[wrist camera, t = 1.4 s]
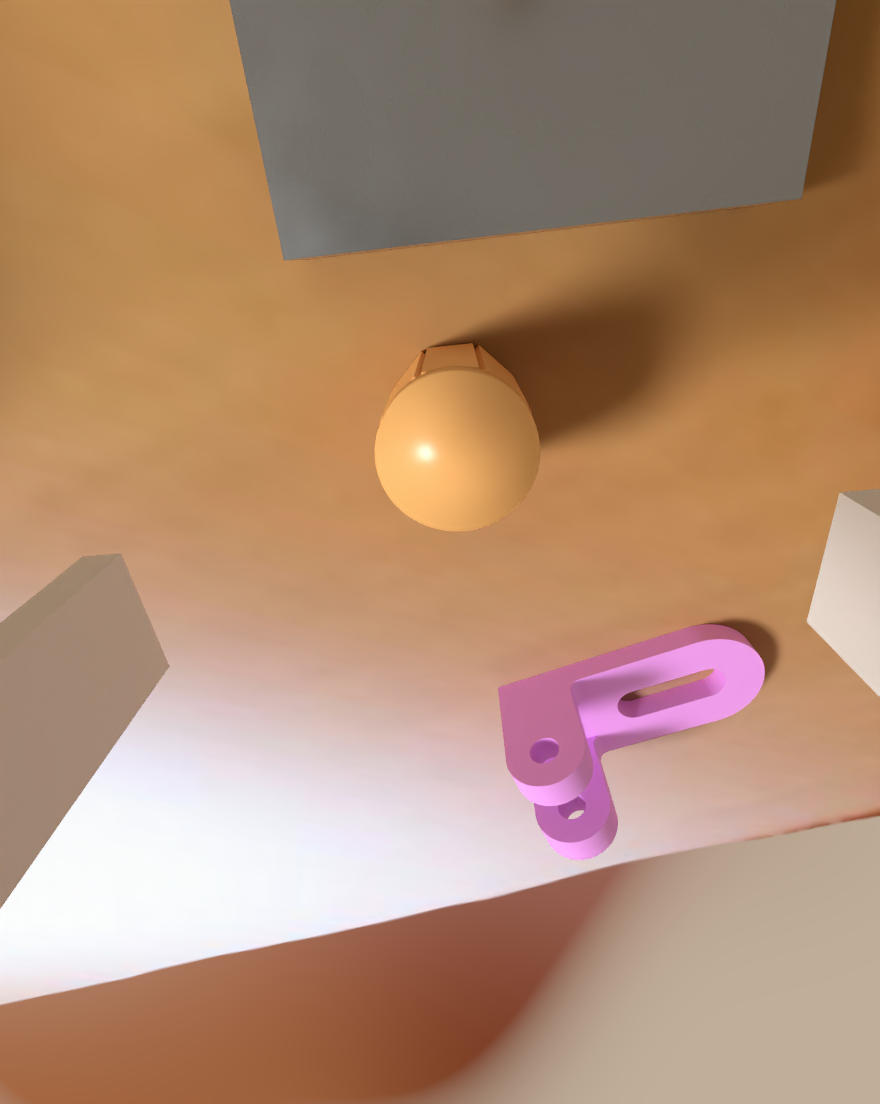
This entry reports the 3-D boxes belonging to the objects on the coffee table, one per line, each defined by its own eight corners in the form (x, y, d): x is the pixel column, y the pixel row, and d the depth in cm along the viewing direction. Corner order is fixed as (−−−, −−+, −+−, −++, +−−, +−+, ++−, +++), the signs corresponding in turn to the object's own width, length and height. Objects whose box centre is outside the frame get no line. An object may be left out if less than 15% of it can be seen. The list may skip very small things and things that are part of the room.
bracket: (531, 752, 32) (550, 867, 26) (497, 685, 30) (510, 795, 24) (758, 686, 30) (839, 797, 24) (741, 607, 27) (826, 709, 21)
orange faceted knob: (401, 473, 24) (387, 537, 19) (384, 349, 22) (361, 381, 16) (520, 462, 24) (541, 524, 18) (516, 335, 21) (538, 362, 16)
